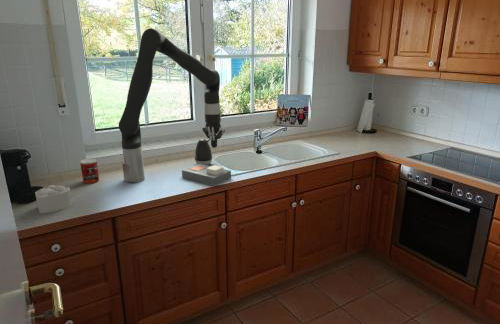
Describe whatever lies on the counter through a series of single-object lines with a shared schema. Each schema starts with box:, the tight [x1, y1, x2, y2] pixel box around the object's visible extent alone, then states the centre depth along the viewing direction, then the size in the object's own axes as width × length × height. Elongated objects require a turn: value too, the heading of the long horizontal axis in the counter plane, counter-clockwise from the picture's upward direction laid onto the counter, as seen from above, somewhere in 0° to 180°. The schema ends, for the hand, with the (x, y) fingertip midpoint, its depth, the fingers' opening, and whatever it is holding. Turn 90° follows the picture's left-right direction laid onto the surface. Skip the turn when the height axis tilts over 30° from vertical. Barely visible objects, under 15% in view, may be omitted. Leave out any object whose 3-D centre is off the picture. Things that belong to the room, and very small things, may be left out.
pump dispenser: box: [194, 138, 213, 166], centre depth 209 cm, size 10×10×15 cm
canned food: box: [79, 158, 100, 185], centre depth 185 cm, size 8×8×11 cm
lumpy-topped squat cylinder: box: [34, 184, 73, 214], centre depth 156 cm, size 10×13×9 cm
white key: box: [207, 164, 224, 176], centre depth 185 cm, size 6×6×4 cm
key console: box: [181, 163, 232, 186], centre depth 189 cm, size 13×22×4 cm, turn 55°
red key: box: [190, 166, 205, 171], centre depth 193 cm, size 6×6×4 cm
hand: (214, 147), depth 182 cm, fingers closed
